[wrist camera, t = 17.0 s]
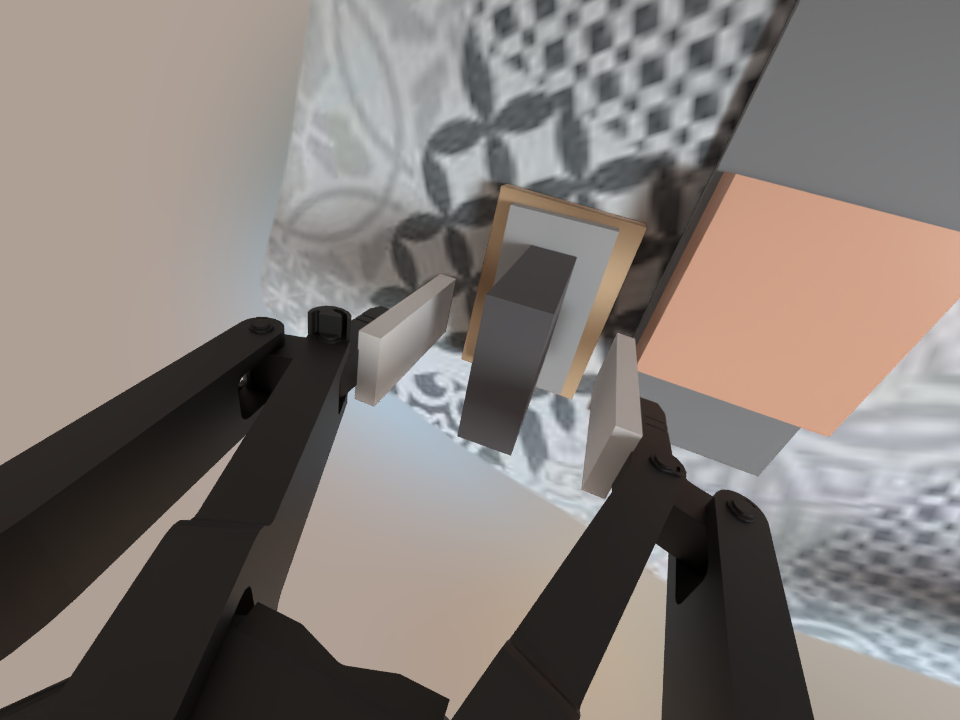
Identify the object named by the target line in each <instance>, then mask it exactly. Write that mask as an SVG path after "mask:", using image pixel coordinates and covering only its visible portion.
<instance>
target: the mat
mask: <svg viewBox="0 0 960 720" xmlns="http://www.w3.org/2000/svg"><path fill="white" fill-rule="evenodd" d="M724 171H725V172H730V173H735V174H739V175H743V176H746V177H750V178H754V179H758V180H762V181H766V182H770V183H773V184H777V185H781V186H785V187H789V188H793V189H797V190H800V191H804V192H808V193H812V194H816V195H820V196H824V197H827V198H831V199H835V200H839V201H843V202H847V203H851V204H854V205H858V206H862V207H866V208H870V209H874V210H878V211H881V212H885V213H889V214H893V215H897V216H901V217H905V218H908V219H912V220H916V221H920V222H924V223H928V224H932V225H935V226H939V227H943V228H947V229H951V230H955V231H959V232H960V0H797V2H796V4H795V6H794V8H793V10H792V12H791V14H790V16H789V18H788V20H787V22H786V24H785V26H784V28H783V30H782V32H781V34H780V36H779V38H778V40H777V42H776V44H775V47H774V49H773V51H772V53H771V55H770V57H769V59H768V61H767V63H766V65H765V67H764V69H763V71H762V73H761V75H760V77H759V79H758V81H757V83H756V85H755V87H754V89H753V92H752V94H751V96H750V98H749V100H748V102H747V104H746V106H745V108H744V110H743V112H742V114H741V116H740V118H739V120H738V122H737V124H736V126H735V128H734V130H733V132H732V134H731V136H730V139H729V141H728V143H727V145H726V147H725V149H724V151H723V153H722V155H721V157H720V159H719V161H718V163H717V165H716V167H715V169H714V171H713V173H712V175H711V177H710V179H709V181H708V184H707V186H706V188H705V190H704V192H703V194H702V196H701V198H700V200H699V202H698V204H697V206H696V208H695V210H694V212H693V214H692V216H691V218H690V220H689V222H688V224H687V226H686V228H685V231H684V233H683V235H682V237H681V239H680V241H679V243H678V245H677V247H676V249H675V251H674V253H673V255H672V257H671V259H670V261H669V263H668V265H667V267H666V269H665V271H664V273H663V276H662V278H661V280H660V282H659V284H658V286H657V288H656V290H655V292H654V294H653V296H652V298H651V300H650V302H649V304H648V306H647V308H646V310H645V312H644V314H643V316H642V318H641V320H640V323H639V325H638V327H637V329H636V331H635V333H634V335H633V337H632V338H635V344H636V346H637V344H638V342H639V340H640V338H641V336H642V334H643V332H644V330H645V328H646V326H647V324H648V322H649V320H650V318H651V316H652V314H653V312H654V310H655V308H656V306H657V304H658V302H659V300H660V298H661V296H662V294H663V292H664V290H665V288H666V286H667V284H668V282H669V280H670V278H671V276H672V274H673V272H674V270H675V268H676V266H677V264H678V262H679V260H680V258H681V256H682V254H683V252H684V250H685V248H686V246H687V244H688V242H689V240H690V238H691V236H692V234H693V232H694V230H695V228H696V226H697V224H698V222H699V220H700V218H701V216H702V214H703V212H704V210H705V208H706V206H707V204H708V202H709V200H710V198H711V196H712V194H713V193H714V191H715V189H716V187H717V185H718V183H719V181H720V179H721V177H722V175H723V173H724ZM638 382H639V395H640V397H642V398H644V399H647V400H650V401H653V402H656V403H658V404H659V406H660V407H661V408H662V410H663V411H664V413H665V416H666V422H667V424H666V425H667V427H668V433H669V439H670V444H672V445H675V446H677V447H680V448H683V449H685V450H688V451H691V452H694V453H696V454H699V455H702V456H704V457H707V458H710V459H713V460H715V461H718V462H721V463H723V464H726V465H729V466H732V467H734V468H737V469H740V470H742V471H745V472H748V473H751V474H753V475H756V476H759V475H760V474H761V473H762V471H763V470H764V469H765V468H766V467H767V466H768V465H769V463H770V462H771V461H772V460H773V459H774V458H775V456H776V455H777V454H778V453H779V452H780V451H781V450H782V448H783V447H784V446H785V445H786V444H787V443H788V442H789V440H790V439H791V438H792V437H793V436H794V435H795V434H796V432H797V431H798V430H799V429H800V428H801V427H798V426H795V425H792V424H789V423H786V422H783V421H780V420H778V419H775V418H772V417H769V416H766V415H763V414H760V413H757V412H754V411H752V410H749V409H746V408H743V407H740V406H737V405H734V404H731V403H728V402H726V401H723V400H720V399H717V398H714V397H711V396H708V395H705V394H702V393H699V392H697V391H694V390H691V389H688V388H685V387H682V386H679V385H676V384H673V383H671V382H668V381H665V380H662V379H659V378H656V377H653V376H650V375H647V374H645V373H642V372H639V371H638Z"/></svg>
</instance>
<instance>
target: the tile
mask: <svg viewBox="0 0 960 720" xmlns="http://www.w3.org/2000/svg"><path fill="white" fill-rule="evenodd" d="M959 298H960V232H959V231H955V230H951V229H947V228H943V227H939V226H935V225H932V224H928V223H924V222H920V221H916V220H912V219H908V218H905V217H901V216H897V215H893V214H889V213H885V212H881V211H878V210H874V209H870V208H866V207H862V206H858V205H854V204H851V203H847V202H843V201H839V200H835V199H831V198H827V197H824V196H820V195H816V194H812V193H808V192H804V191H800V190H797V189H793V188H789V187H785V186H781V185H777V184H773V183H770V182H766V181H762V180H758V179H754V178H750V177H746V176H743V175H739V174H735V173H730V172H725V171H724V173H723V175H722V177H721V179H720V181H719V183H718V185H717V187H716V189H715V191H714V193H713V194H712V196H711V198H710V200H709V202H708V204H707V206H706V208H705V210H704V212H703V214H702V216H701V218H700V220H699V222H698V224H697V226H696V228H695V230H694V232H693V234H692V236H691V238H690V240H689V242H688V244H687V246H686V248H685V250H684V252H683V254H682V256H681V258H680V260H679V262H678V264H677V266H676V268H675V270H674V272H673V274H672V276H671V278H670V280H669V282H668V284H667V286H666V288H665V290H664V292H663V294H662V296H661V298H660V300H659V302H658V304H657V306H656V308H655V310H654V312H653V314H652V316H651V318H650V320H649V322H648V324H647V326H646V328H645V330H644V332H643V334H642V336H641V338H640V340H639V342H638V344H637V346H636V357H637V369H638V371H639V372H642V373H645V374H647V375H650V376H653V377H656V378H659V379H662V380H665V381H668V382H671V383H673V384H676V385H679V386H682V387H685V388H688V389H691V390H694V391H697V392H699V393H702V394H705V395H708V396H711V397H714V398H717V399H720V400H723V401H726V402H728V403H731V404H734V405H737V406H740V407H743V408H746V409H749V410H752V411H754V412H757V413H760V414H763V415H766V416H769V417H772V418H775V419H778V420H780V421H783V422H786V423H789V424H792V425H795V426H798V427H801V428H804V429H807V430H809V431H812V432H815V433H818V434H821V435H824V436H827V437H829V436H830V435H831V434H832V433H833V432H834V431H835V430H836V429H837V428H838V427H839V426H840V425H841V423H842V422H843V421H844V420H845V419H846V418H847V417H848V416H849V415H850V414H851V413H852V412H853V411H854V410H855V409H856V408H857V406H858V405H859V404H860V403H861V402H862V401H863V400H864V399H865V398H866V397H867V396H868V395H869V394H870V393H871V392H872V391H873V389H874V388H875V387H876V386H877V385H878V384H879V383H880V382H881V381H882V380H883V379H884V378H885V377H886V376H887V375H888V374H889V372H890V371H891V370H892V369H893V368H894V367H895V366H896V365H897V364H898V363H899V362H900V361H901V360H902V359H903V358H904V357H905V355H906V354H907V353H908V352H909V351H910V350H911V349H912V348H913V347H914V346H915V345H916V344H917V343H918V342H919V341H920V340H921V338H922V337H923V336H924V335H925V334H926V333H927V332H928V331H929V330H930V329H931V328H932V327H933V326H934V325H935V324H936V323H937V321H938V320H939V319H940V318H941V317H942V316H943V315H944V314H945V313H946V312H947V311H948V310H949V309H950V308H951V307H952V306H953V304H954V303H955V302H956V301H957V300H958V299H959Z"/></svg>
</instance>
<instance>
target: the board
mask: <svg viewBox="0 0 960 720" xmlns="http://www.w3.org/2000/svg"><path fill="white" fill-rule="evenodd" d="M515 202H516V203H520V204H524V205H528V206H532V207H536V208H540V209H544V210H548V211H552V212H556V213H560V214H564V215H568V216H572V217H576V218H580V219H584V220H588V221H593V222H597V223H601V224H605V225H609V226H613V227H617V228H619V234H618V236H617V239H616V242H615V245H614V247H613V250H612V253H611V256H610V259H609V261H608V264H607V267H606V270H605V272H604V275H603V278H602V281H601V284H600V286H599V289H598V292H597V295H596V297H595V300H594V303H593V306H592V309H591V311H590V314H589V317H588V320H587V322H586V325H585V328H584V331H583V333H582V336H581V339H580V342H579V345H578V347H577V350H576V353H575V356H574V358H573V361H572V364H571V367H570V370H569V372H568V375H567V378H566V381H565V383H564V386H563V389H562V392H561V396H564V397H566V398H569V399H572V398H573V396H574V394H575V391H576V389H577V387H578V385H579V382H580V380H581V378H582V375H583V373H584V371H585V369H586V366H587V364H588V362H589V359H590V357H591V355H592V353H593V350H594V348H595V346H596V344H597V341H598V339H599V337H600V334H601V332H602V330H603V328H604V325H605V323H606V321H607V318H608V316H609V314H610V312H611V309H612V307H613V305H614V302H615V300H616V298H617V296H618V293H619V291H620V289H621V286H622V284H623V282H624V280H625V277H626V275H627V273H628V270H629V268H630V266H631V264H632V261H633V259H634V257H635V254H636V252H637V250H638V248H639V245H640V243H641V241H642V238H643V236H644V234H645V232H646V229H647V226H646V224H645V223H642V222H638V221H635V220H631V219H628V218H624V217H621V216H618V215H614V214H611V213H607V212H604V211H600V210H597V209H593V208H590V207H586V206H583V205H579V204H576V203H572V202H569V201H565V200H562V199H558V198H555V197H551V196H548V195H544V194H541V193H538V192H534V191H531V190H527V189H524V188H520V187H517V186H513V185H510V184H505V185H502V186H501V189H500V194H499V198H498V202H497V207H496V211H495V215H494V220H493V224H492V228H491V233H490V237H489V241H488V246H487V250H486V254H485V259H484V263H483V267H482V272H481V276H480V280H479V285H478V289H477V293H476V298H475V302H474V306H473V311H472V315H471V319H470V324H469V328H468V332H467V337H466V341H465V345H464V350H463V354H462V358H461V359H463V360H465V361H468V362H471V363H472V362H473V357H474V352H475V347H476V342H477V337H478V332H479V327H480V322H481V317H482V312H483V307H484V302H485V297H486V294H487V293H488V292H489V291H490V290H491V289H492V287H493V285H494V281H495V276H496V271H497V266H498V262H499V257H500V252H501V247H502V243H503V238H504V233H505V228H506V224H507V219H508V214H509V209H510V205H511V204H513V203H515ZM558 395H559V394H558Z"/></svg>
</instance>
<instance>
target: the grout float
mask: <svg viewBox="0 0 960 720" xmlns="http://www.w3.org/2000/svg"><path fill="white" fill-rule="evenodd" d="M618 234H619V228H617V227H613V226H609V225H605V224H601V223H597V222H593V221H588V220H584V219H580V218H576V217H572V216H568V215H564V214H560V213H556V212H552V211H548V210H544V209H540V208H536V207H532V206H528V205H524V204H520V203H516V202H515V203H513V204H511V205H510V209H509V214H508V219H507V224H506V228H505V233H504V238H503V243H502V247H501V252H500V257H499V262H498V266H497V271H496V276H495V281H494V285H493V287H492V289H491V290H490V291H489V292H488V293H487V294H486V297H485V302H484V307H483V312H482V317H481V322H480V327H479V332H478V337H477V342H476V347H475V352H474V357H473V362H472V366H471V371H470V376H469V381H468V386H467V391H466V396H465V401H464V406H463V411H462V416H461V421H460V426H459V431H458V435H457V436H458V437H461V438H464V439H467V440H469V441H472V442H475V443H478V444H480V445H483V446H486V447H489V448H491V449H494V450H497V451H500V452H502V453H505V454H508V455H510V456H511V454H512V451H513V448H514V445H515V442H516V440H517V437H518V434H519V431H520V428H521V426H522V423H523V420H524V417H525V414H526V412H527V409H528V406H529V403H530V400H531V398H532V395H533V392H534V389H535V387H538V388H541V389H544V390H547V391H550V392H553V393H556V394H559V395H561V392H562V389H563V386H564V383H565V381H566V378H567V375H568V372H569V370H570V367H571V364H572V361H573V358H574V356H575V353H576V350H577V347H578V345H579V342H580V339H581V336H582V333H583V331H584V328H585V325H586V322H587V320H588V317H589V314H590V311H591V309H592V306H593V303H594V300H595V297H596V295H597V292H598V289H599V286H600V284H601V281H602V278H603V275H604V272H605V270H606V267H607V264H608V261H609V259H610V256H611V253H612V250H613V247H614V245H615V242H616V239H617V236H618Z"/></svg>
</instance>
